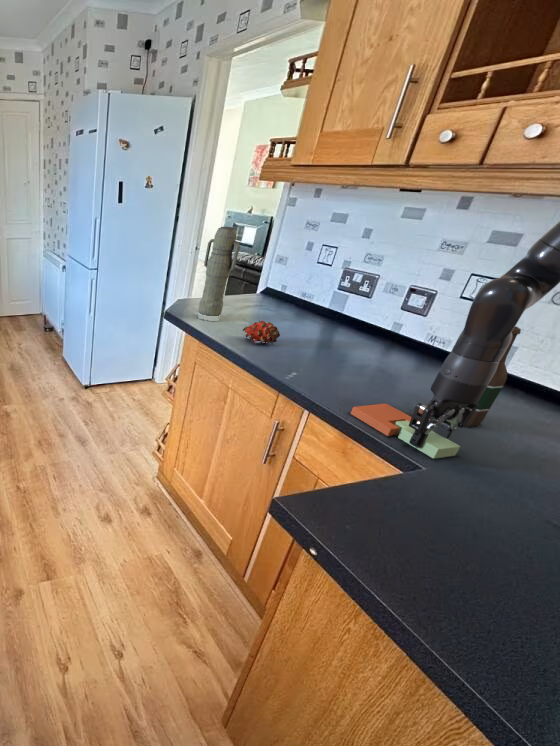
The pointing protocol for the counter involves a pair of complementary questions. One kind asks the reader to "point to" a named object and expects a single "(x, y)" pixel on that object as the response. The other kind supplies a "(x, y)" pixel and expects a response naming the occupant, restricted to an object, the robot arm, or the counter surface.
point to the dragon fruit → (262, 332)
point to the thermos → (218, 270)
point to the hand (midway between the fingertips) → (426, 443)
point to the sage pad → (428, 442)
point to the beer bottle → (492, 387)
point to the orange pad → (381, 417)
